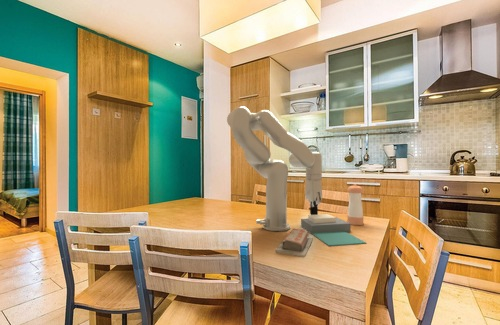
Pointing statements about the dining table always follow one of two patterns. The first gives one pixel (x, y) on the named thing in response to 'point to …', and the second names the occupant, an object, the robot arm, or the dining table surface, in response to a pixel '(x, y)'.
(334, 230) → the block
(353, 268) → the dining table surface
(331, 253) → the dining table surface
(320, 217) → the cream flat block
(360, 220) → the pepper shaker
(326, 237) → the mat
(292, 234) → the packaged product
